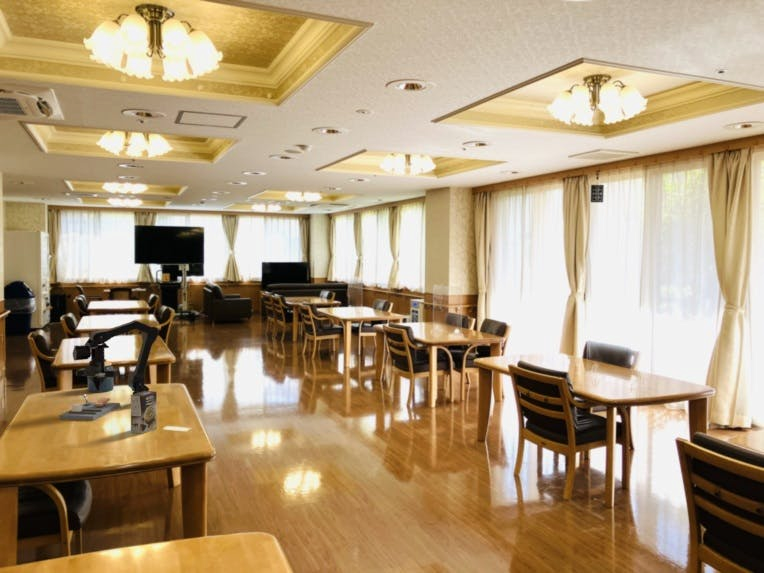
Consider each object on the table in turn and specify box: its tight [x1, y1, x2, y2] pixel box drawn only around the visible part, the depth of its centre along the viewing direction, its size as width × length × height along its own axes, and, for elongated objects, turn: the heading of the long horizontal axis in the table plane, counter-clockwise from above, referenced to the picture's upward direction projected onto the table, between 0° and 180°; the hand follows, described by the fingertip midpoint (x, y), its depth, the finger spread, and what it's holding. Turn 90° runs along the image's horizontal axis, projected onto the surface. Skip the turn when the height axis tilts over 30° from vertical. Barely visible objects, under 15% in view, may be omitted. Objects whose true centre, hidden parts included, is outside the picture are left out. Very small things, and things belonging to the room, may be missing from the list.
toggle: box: [82, 394, 89, 403], centre depth 283 cm, size 2×2×4 cm
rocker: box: [94, 397, 111, 406], centre depth 282 cm, size 4×7×1 cm, turn 175°
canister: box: [87, 360, 115, 393], centre depth 320 cm, size 13×13×18 cm
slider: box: [71, 403, 83, 412], centre depth 271 cm, size 3×3×3 cm
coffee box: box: [130, 390, 158, 435], centre depth 251 cm, size 9×6×16 cm
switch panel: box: [58, 401, 121, 422], centre depth 277 cm, size 16×23×3 cm
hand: (98, 390), depth 279 cm, fingers closed
